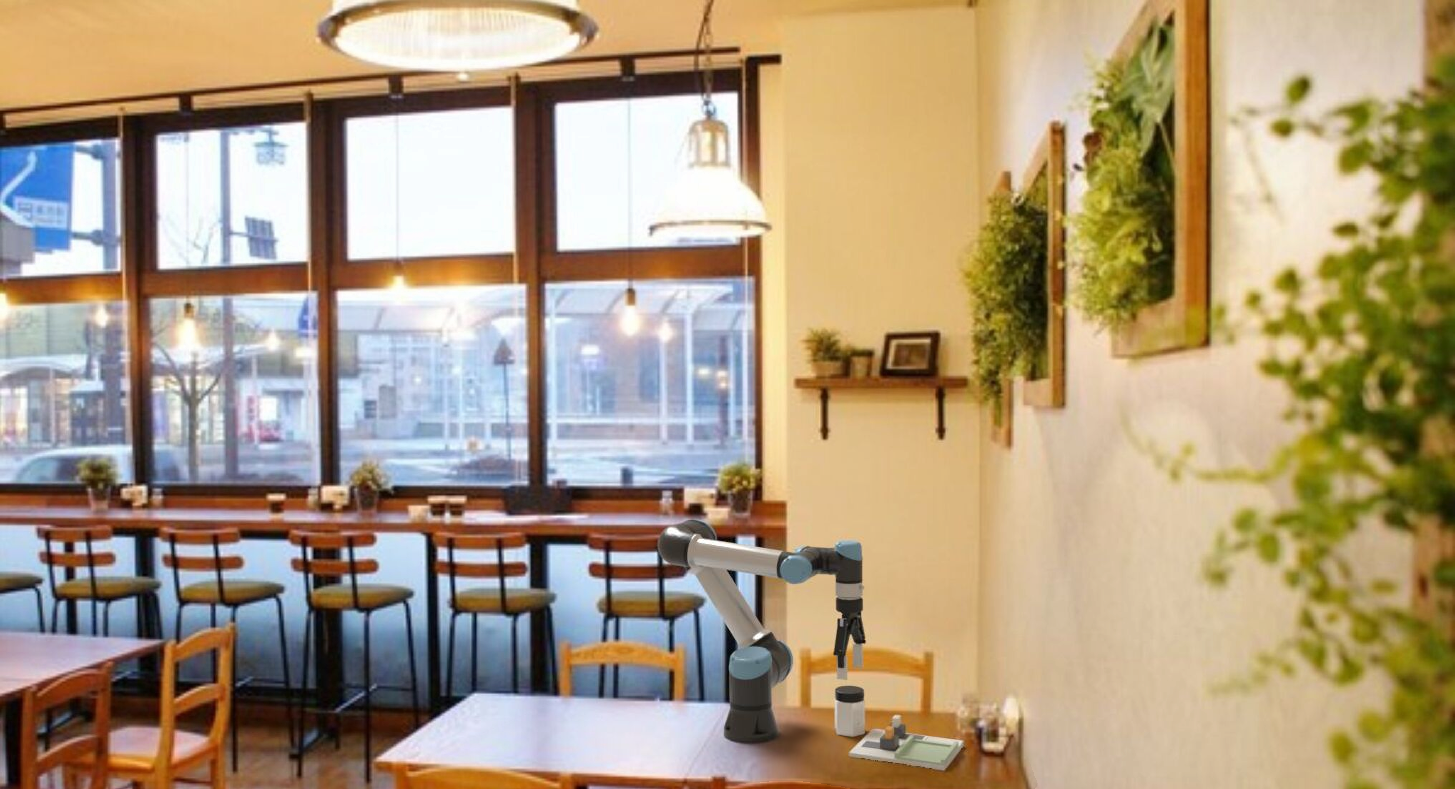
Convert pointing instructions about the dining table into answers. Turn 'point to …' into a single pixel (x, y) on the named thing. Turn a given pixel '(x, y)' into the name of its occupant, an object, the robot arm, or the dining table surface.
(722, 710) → the dining table surface
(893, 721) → the toggle plain
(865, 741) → the panel
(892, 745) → the toggle tagged
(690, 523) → the robot arm
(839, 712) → the jar
